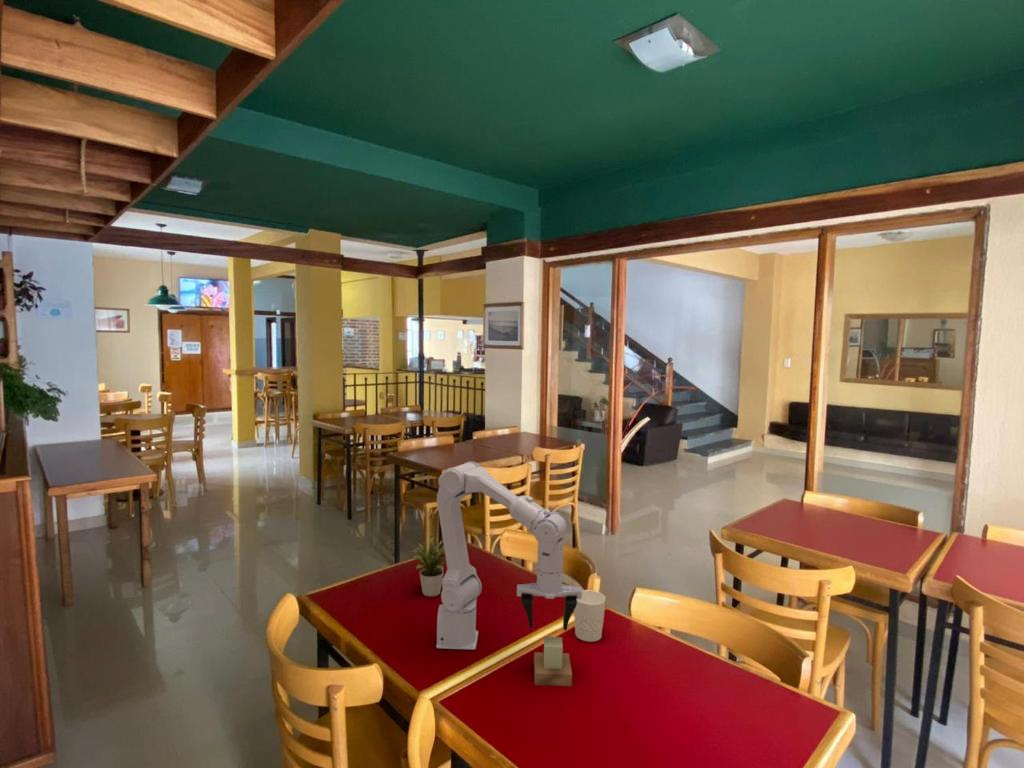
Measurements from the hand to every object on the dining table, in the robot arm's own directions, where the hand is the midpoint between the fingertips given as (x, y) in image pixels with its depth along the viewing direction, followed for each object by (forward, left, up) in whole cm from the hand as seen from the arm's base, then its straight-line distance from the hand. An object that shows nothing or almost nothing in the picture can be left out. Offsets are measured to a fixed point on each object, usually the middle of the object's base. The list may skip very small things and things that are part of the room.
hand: (547, 626), depth 120 cm
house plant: (-33, +34, -10) cm, 48 cm away
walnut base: (+1, -2, -10) cm, 10 cm away
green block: (+1, -2, -7) cm, 8 cm away
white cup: (+11, +15, -10) cm, 21 cm away
